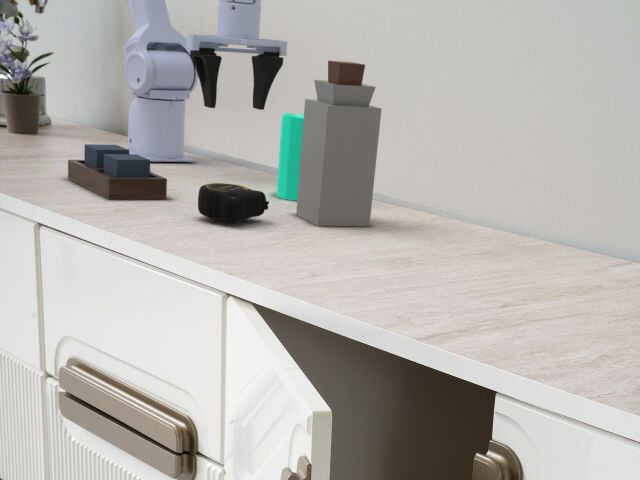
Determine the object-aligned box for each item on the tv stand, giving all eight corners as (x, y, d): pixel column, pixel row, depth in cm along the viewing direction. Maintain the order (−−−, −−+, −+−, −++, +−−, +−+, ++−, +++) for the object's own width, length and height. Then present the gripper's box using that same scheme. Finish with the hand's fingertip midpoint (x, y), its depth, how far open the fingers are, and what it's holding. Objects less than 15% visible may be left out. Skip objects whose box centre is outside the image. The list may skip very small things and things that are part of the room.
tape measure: (232, 228, 126) (234, 194, 125) (184, 218, 129) (186, 185, 128) (267, 222, 131) (270, 189, 130) (221, 212, 135) (223, 180, 133)
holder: (67, 179, 147) (67, 159, 146) (122, 179, 151) (122, 160, 150) (108, 199, 136) (109, 178, 135) (166, 199, 140) (167, 178, 139)
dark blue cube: (103, 186, 141) (103, 153, 140) (135, 186, 143) (136, 154, 142) (116, 193, 138) (116, 159, 136) (149, 192, 140) (150, 159, 138)
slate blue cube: (84, 175, 146) (84, 144, 145) (116, 175, 148) (116, 144, 147) (96, 181, 143) (96, 149, 141) (128, 181, 145) (129, 149, 143)
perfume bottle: (296, 214, 138) (308, 58, 130) (346, 215, 140) (360, 62, 133) (317, 225, 132) (331, 63, 125) (369, 226, 135) (385, 67, 128)
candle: (323, 196, 152) (331, 103, 147) (318, 203, 147) (326, 107, 142) (279, 191, 153) (286, 98, 148) (273, 198, 147) (280, 102, 142)
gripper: (204, 0, 145) (199, 110, 150) (301, 8, 152) (293, 113, 158) (181, -3, 151) (177, 103, 156) (275, 5, 158) (269, 106, 163)
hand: (234, 108), depth 157 cm, fingers open, 7 cm apart
